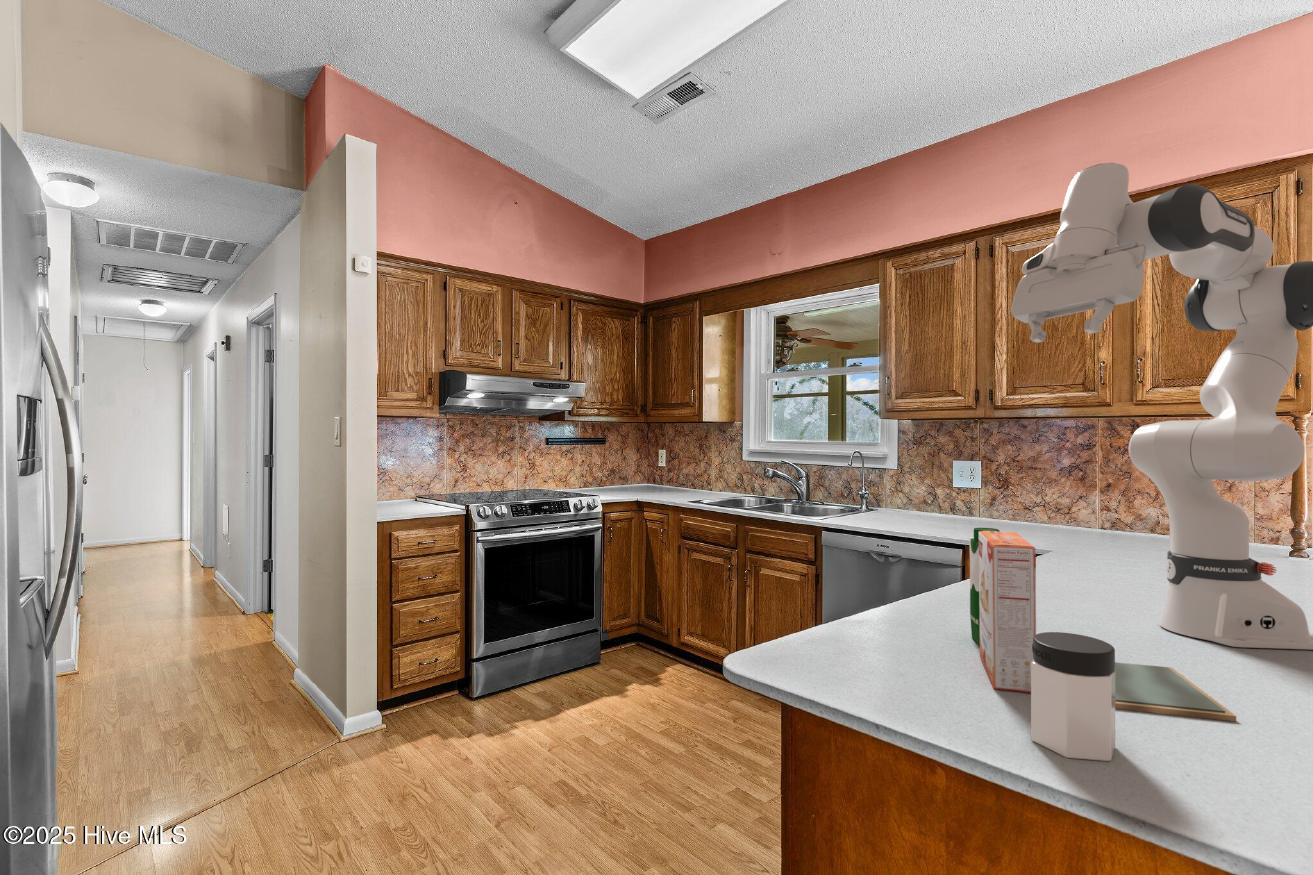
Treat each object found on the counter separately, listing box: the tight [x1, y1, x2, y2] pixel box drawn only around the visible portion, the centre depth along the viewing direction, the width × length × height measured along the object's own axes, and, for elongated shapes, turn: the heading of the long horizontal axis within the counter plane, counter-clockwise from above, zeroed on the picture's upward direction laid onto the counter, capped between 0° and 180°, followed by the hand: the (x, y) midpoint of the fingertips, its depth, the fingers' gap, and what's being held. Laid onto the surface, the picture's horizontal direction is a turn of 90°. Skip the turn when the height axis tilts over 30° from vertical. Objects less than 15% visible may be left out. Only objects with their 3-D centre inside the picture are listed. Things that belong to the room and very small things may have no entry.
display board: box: [1115, 661, 1237, 722], centre depth 93 cm, size 20×18×1 cm
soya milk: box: [968, 527, 1001, 647], centre depth 112 cm, size 9×9×20 cm
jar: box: [1030, 631, 1116, 762], centre depth 76 cm, size 9×8×12 cm
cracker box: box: [979, 530, 1037, 694], centre depth 98 cm, size 14×6×21 cm, turn 160°
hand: (1063, 336), depth 104 cm, fingers open, 8 cm apart
